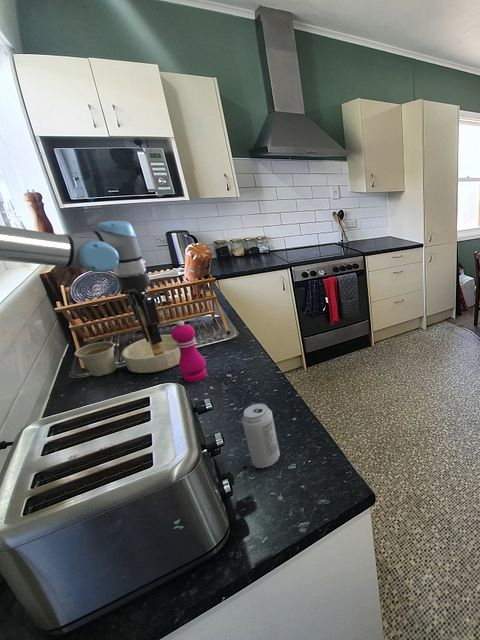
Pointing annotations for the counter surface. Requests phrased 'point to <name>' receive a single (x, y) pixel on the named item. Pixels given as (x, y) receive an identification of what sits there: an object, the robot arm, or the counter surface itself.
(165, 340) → the bowl
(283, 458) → the counter surface
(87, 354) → the flower pot
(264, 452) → the energy drink can
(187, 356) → the pepper mill
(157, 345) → the stick
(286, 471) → the counter surface
